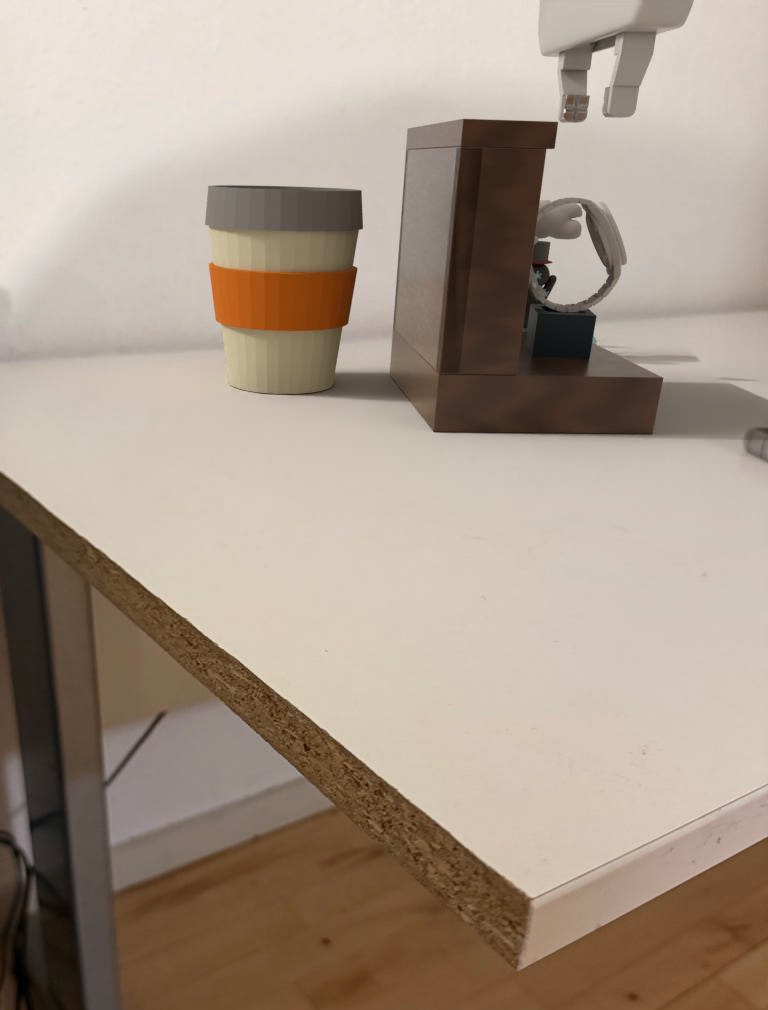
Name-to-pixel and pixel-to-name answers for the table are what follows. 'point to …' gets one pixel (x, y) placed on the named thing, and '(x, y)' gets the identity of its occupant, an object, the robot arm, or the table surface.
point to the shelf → (491, 294)
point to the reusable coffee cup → (282, 281)
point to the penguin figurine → (549, 226)
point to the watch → (574, 324)
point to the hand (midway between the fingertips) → (593, 120)
